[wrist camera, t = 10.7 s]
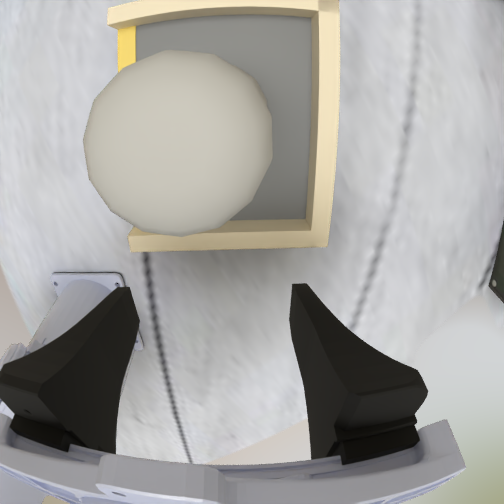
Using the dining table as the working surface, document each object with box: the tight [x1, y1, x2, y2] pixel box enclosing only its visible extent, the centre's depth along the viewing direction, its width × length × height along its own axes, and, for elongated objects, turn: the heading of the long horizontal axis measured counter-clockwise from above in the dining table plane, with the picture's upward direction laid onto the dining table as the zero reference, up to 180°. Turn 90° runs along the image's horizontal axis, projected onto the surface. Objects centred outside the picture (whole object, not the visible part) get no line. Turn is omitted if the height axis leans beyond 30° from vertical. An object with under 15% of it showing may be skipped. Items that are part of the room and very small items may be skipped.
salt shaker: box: [83, 50, 273, 237], centre depth 11 cm, size 6×6×13 cm
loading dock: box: [107, 0, 340, 252], centre depth 17 cm, size 16×13×4 cm
